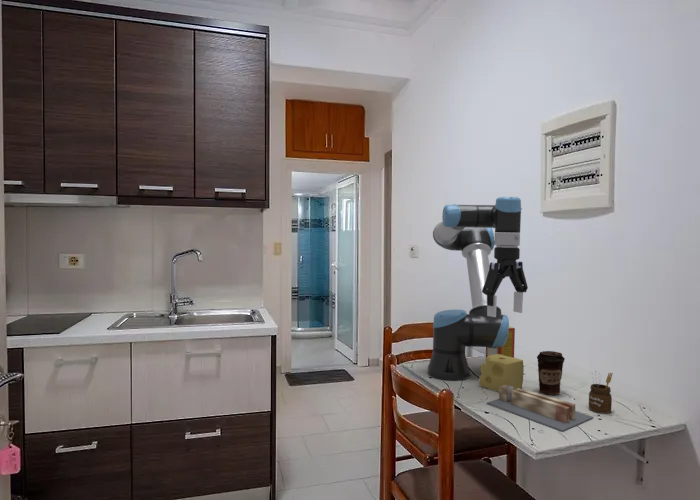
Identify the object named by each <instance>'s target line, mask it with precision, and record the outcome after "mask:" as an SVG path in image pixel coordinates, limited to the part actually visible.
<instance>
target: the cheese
mask: <svg viewBox="0 0 700 500" xmlns="http://www.w3.org/2000/svg"><path fill="white" fill-rule="evenodd" d="M480 372H481V374H480V375H479V380H478V381H479V382H478V384H479V387H481V388H486V389H489V390H492V391H496V392H497V393H499V387H500V386H503V385H510V386H513V387H514V390H516V389H518V388H520V389H523V385H524V360H523V359H520V358H517V357H514V358H513V357H508V356H504V355H501V354H494V355H490V356H488V357H487V358H486V357H485V361H484V363H481V365H480Z"/></svg>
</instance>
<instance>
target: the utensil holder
mask: <svg viewBox="0 0 700 500" xmlns="http://www.w3.org/2000/svg"><path fill="white" fill-rule="evenodd" d="M592 374H594V375H595V376H597V374H598V376H599V377H598V378H597V377H595V379H594V378H592V382H595V380H596V383H592V384H591V385H590V391H589V392H588V408H589V410H591V411H592V412H595V413H599V414H610V413H611V412H612V400H613V398H612V394H611V387H610V386H609V385H610V384H611V381H612V377H613V374H614V373H613V372H608V374H607V377H606V381H605V383H606V385H605V384H602V382H601V379H602V377H601V376H600V373H599V372H598V371H597V370H593V371H592ZM597 379H599V380H597ZM598 381H599V382H598Z"/></svg>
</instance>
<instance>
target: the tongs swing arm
mask: <svg viewBox="0 0 700 500" xmlns="http://www.w3.org/2000/svg"><path fill="white" fill-rule="evenodd" d="M516 390H517V391H520V392H523V393H526V394H529V395H532V396H536V397H539V398H542V399H545V400H548V401H551V402H554V403H557V404H561V405H564V406H567V407H570V409H569V419H571V420H573V419H575V411H576V403H572V402H570V401H566V400H561V399H559V398H555V397H551V396H548V395H546V394H545V395H544V394H540V393H538V392H534V391H529V390H526V389H523V388H521V389H520V388H518V389H516Z"/></svg>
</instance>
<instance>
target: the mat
mask: <svg viewBox="0 0 700 500" xmlns="http://www.w3.org/2000/svg"><path fill="white" fill-rule="evenodd" d="M486 405H489V406H492V407H494V408H498V409H500V410H502V411H505V412H508V413H510V414H514V415H515V416H518V417H520V418H524V419H527V420H530V421H532V422H535V423H538V424H540V425H543V426H546V427H548V428H551V429H554V430H556V431H559V432H563V433H564V432H566V431H568V430H570V429H572V428H575V427H577V426H579V425H581V424H584V423H586V422H588V421H592V420H593V419H594V416H591V415H589V414H586V413H583V412H581V411H580V412H579V411H577V410H575V419H573V420H571V419H569V422H568V423H564V422H561V421H558V420H555V419H552V418H550V417H547V416H544V415H541V414H538V413H535V412H533V411H530V410H527V409H524V408H521V407H518V406H516V405H513V404H511V402H505V401H502V400H499V398H497V399H493V400H490V401H487V402H486Z"/></svg>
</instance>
